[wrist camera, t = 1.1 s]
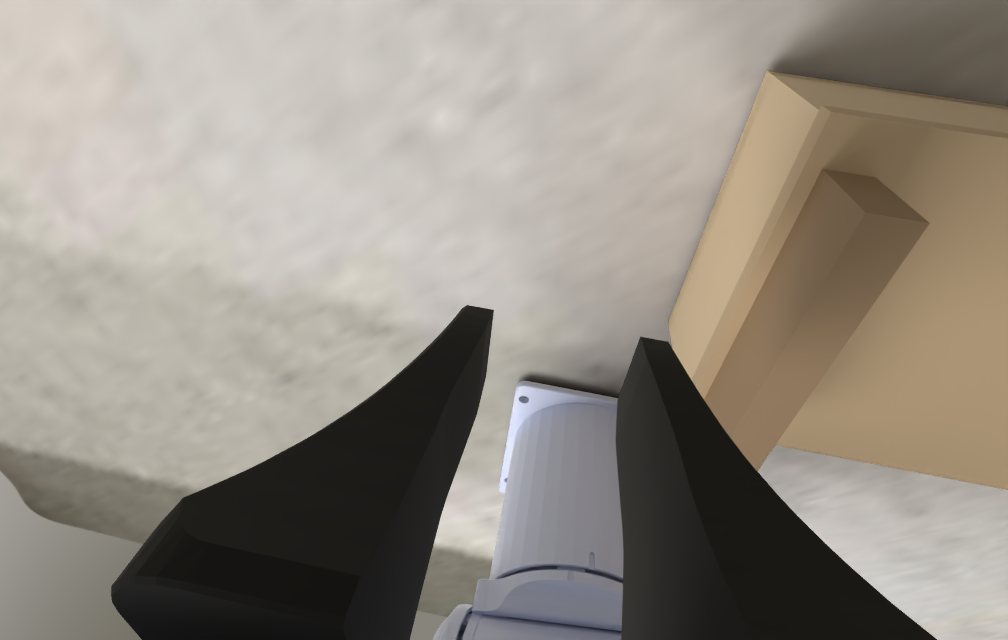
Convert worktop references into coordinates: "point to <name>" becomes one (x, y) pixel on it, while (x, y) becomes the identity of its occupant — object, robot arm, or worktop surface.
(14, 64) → the worktop surface
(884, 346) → the lid
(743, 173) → the lidded box
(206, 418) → the worktop surface
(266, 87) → the worktop surface
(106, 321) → the worktop surface
